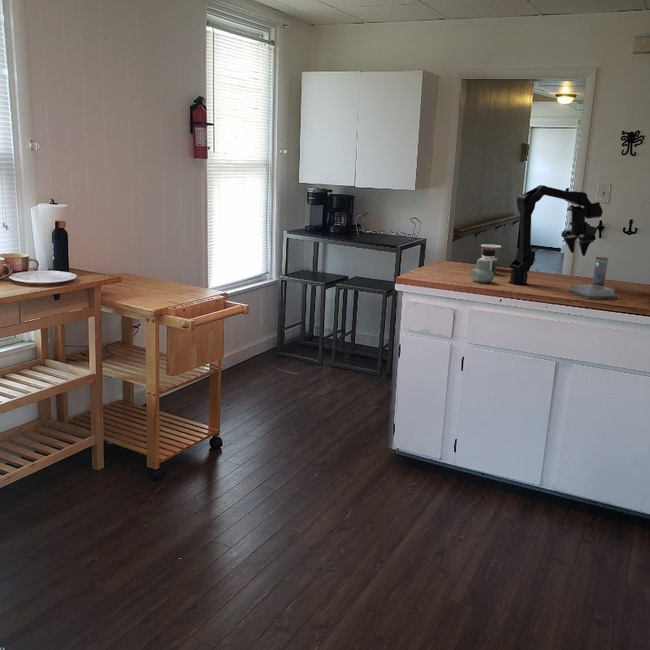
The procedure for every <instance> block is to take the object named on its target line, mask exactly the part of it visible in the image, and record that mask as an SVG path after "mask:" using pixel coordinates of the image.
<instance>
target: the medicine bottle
mask: <svg viewBox="0 0 650 650" xmlns="http://www.w3.org/2000/svg"><path fill="white" fill-rule="evenodd" d="M482 257H483V258H481V257H480V258H479V259H487V260H490V270H491V271H493V273H495V274H496V273H497V266H498V263H497V259H495V250H494V249H489V248H485V249H483V251H482Z"/></svg>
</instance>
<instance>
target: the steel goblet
mask: <svg viewBox="0 0 650 650" xmlns="http://www.w3.org/2000/svg"><path fill="white" fill-rule="evenodd" d="M608 263H609V257H605V256H595V261H594V270H593V277H592V284H596V285H600V286H603V287H605V283H606V277H607V275H606V274H607V269H608Z"/></svg>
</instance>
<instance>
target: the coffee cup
mask: <svg viewBox="0 0 650 650" xmlns="http://www.w3.org/2000/svg"><path fill="white" fill-rule="evenodd" d="M480 246H481V247H480V251H481V253H480V255H481V257H480V258H483V257H482V251H483V249H485V248H489V249H494V250H495V259H497V264H498V263H499V262H498V261H499V259H500V253H501V250H502V249H501V248H502V246H501V245H499V244H487V243H485V244H484V243H483V244H480Z"/></svg>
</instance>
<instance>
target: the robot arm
mask: <svg viewBox="0 0 650 650" xmlns="http://www.w3.org/2000/svg"><path fill="white" fill-rule="evenodd" d="M545 196H547V197H552V198H556V199H561V200H563V201H566V203H569V204H571V205H570V206H569V207H567V209H566V210H567V211H570V212H571V221H570V222H569V225H570V226H571V229H567V230H566V229H565V230H562V232H561V237H562V239H563V240H564V241H565V243H566V246H567V247H568V250H570V253H571V254H573V253H575V245H576V241H577V239H578V240H579V241H578V244H579V248H580V252H581V255H582V257H584V256H586V254H587V251H588V249H589V247H590V244H591V243H593V242H594V241H596V240H597V236H596V234H597V231H598V227H596V226H593V225H590V223H588V221H586V219H596V218H601V217H602V216H603V212H604V211H603V208H602V206H601V205H600V204H601V203H600V202H599V201H598V202H597V201H595V202H592V201H590V200H589V198H588V195H587V193H586V192H584V191H571V190H569V191H568V190H563V189H560V188H554V187H551V186H546V185H541V184H540V185H537V186H536V187H534V188H533V189H530V190H528V191H526V192H525V193H522V194H519V196H518V197H517V199H516V206H517V210H518V213H519V219H520V220H519V248H518V249H517V251H516V255H515V259H514V260H513V261H511V262H510V264H509V268H510V269H511V271H510V272H511V273H510V281H509V280H508V283H510V284H512V285H518V286H519V285H520V286H522V285H525V286H526V285H528V283H527V282H528V275H529V274H528V272H529V271H530V270H531V267H532V266H533V265H534V263H535V261H536V251H535V250H532V248H531V247H532V246H531V242H532V241H531V239H532V216H533V213H534V210H535V208H536V203H537V202H540V201H541V199H542V198H543V197H545ZM574 205H576V206H574Z"/></svg>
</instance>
